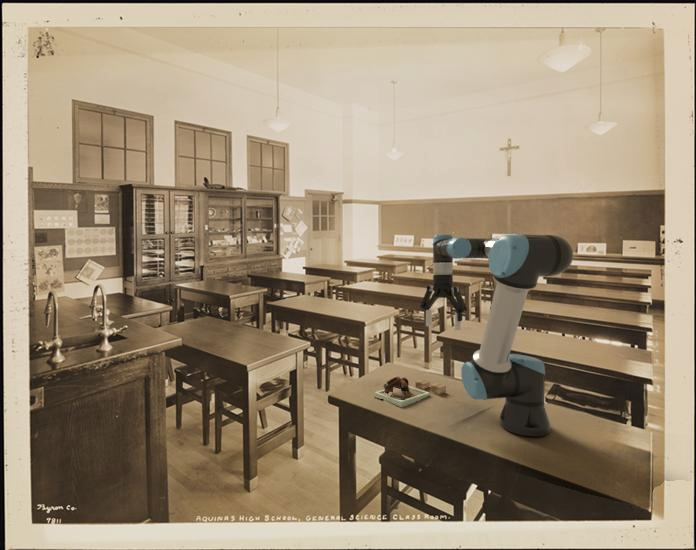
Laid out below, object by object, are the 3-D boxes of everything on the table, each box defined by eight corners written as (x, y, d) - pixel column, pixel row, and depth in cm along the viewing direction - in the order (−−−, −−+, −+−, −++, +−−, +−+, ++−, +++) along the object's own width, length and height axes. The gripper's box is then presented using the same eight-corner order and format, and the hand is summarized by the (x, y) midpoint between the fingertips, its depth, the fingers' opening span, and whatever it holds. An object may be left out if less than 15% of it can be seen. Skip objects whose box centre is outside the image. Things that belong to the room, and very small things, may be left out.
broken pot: (407, 403, 148) (396, 383, 149) (387, 409, 154) (376, 390, 154) (419, 387, 158) (408, 368, 159) (400, 393, 164) (390, 375, 164)
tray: (430, 397, 156) (430, 392, 155) (401, 407, 145) (401, 402, 145) (402, 389, 166) (402, 384, 166) (374, 397, 156) (374, 392, 156)
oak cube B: (429, 391, 163) (429, 381, 163) (423, 393, 161) (423, 383, 160) (421, 389, 166) (421, 379, 166) (415, 391, 164) (415, 381, 164)
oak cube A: (445, 395, 158) (445, 385, 158) (439, 397, 156) (439, 387, 156) (437, 393, 162) (437, 383, 161) (430, 395, 159) (431, 385, 159)
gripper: (476, 274, 154) (476, 330, 154) (423, 273, 172) (423, 323, 173) (465, 274, 149) (465, 332, 149) (411, 273, 167) (411, 325, 168)
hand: (442, 327), depth 161 cm, fingers open, 13 cm apart
